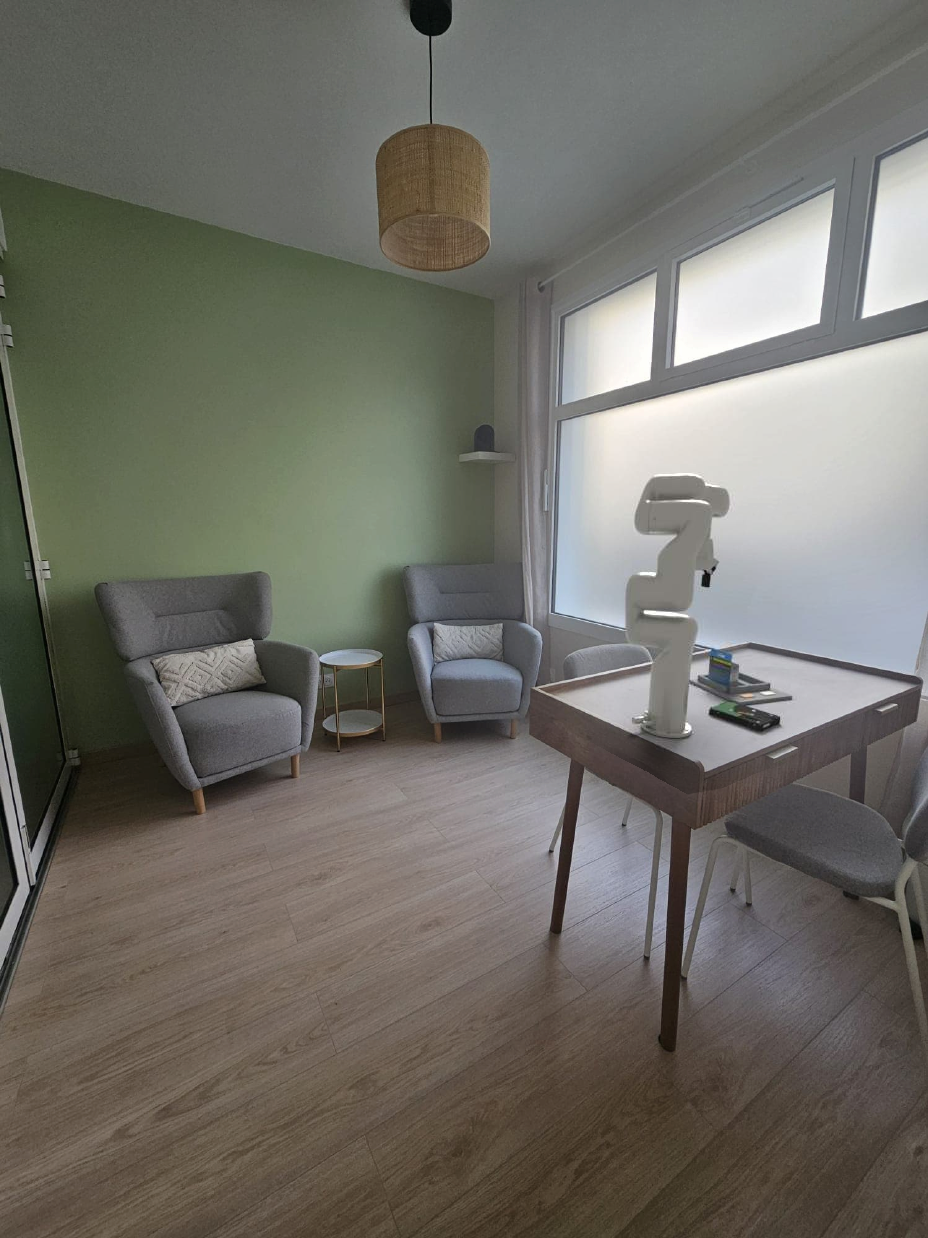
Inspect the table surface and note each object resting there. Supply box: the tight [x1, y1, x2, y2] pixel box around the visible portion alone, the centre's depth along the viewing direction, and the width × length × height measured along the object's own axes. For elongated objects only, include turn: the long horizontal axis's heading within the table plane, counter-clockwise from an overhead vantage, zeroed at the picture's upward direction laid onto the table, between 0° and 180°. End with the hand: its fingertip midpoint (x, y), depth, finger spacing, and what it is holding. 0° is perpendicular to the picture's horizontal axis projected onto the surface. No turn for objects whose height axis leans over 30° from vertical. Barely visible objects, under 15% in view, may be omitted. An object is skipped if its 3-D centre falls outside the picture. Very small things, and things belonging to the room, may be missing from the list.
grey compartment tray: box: [689, 671, 793, 706], centre depth 165 cm, size 20×22×3 cm
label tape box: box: [708, 647, 740, 687], centre depth 165 cm, size 9×4×12 cm, turn 20°
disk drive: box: [708, 700, 781, 733], centre depth 142 cm, size 10×3×15 cm
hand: (692, 587), depth 163 cm, fingers open, 9 cm apart
